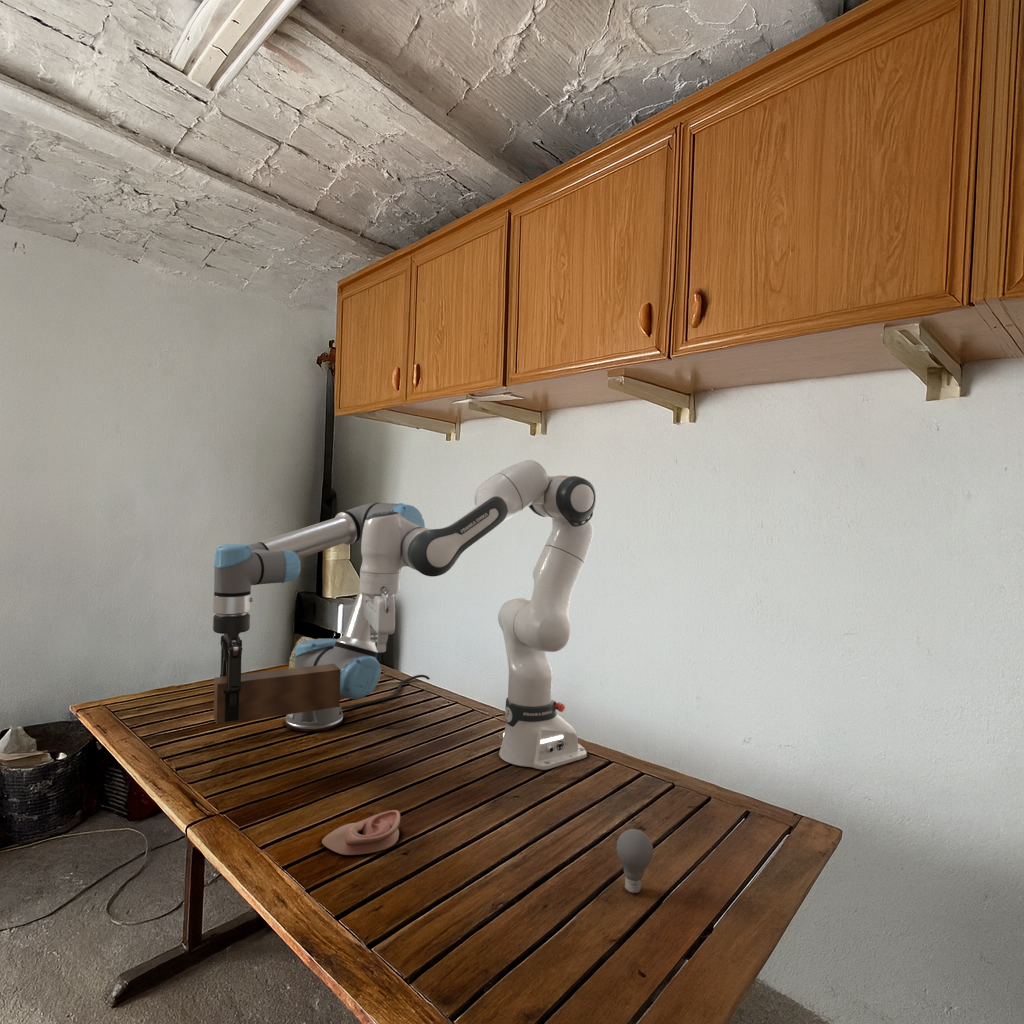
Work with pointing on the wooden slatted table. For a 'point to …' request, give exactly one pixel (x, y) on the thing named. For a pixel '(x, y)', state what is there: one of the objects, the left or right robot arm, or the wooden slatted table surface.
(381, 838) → the anatomical model
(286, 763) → the wooden slatted table surface
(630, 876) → the light bulb
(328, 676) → the bar
